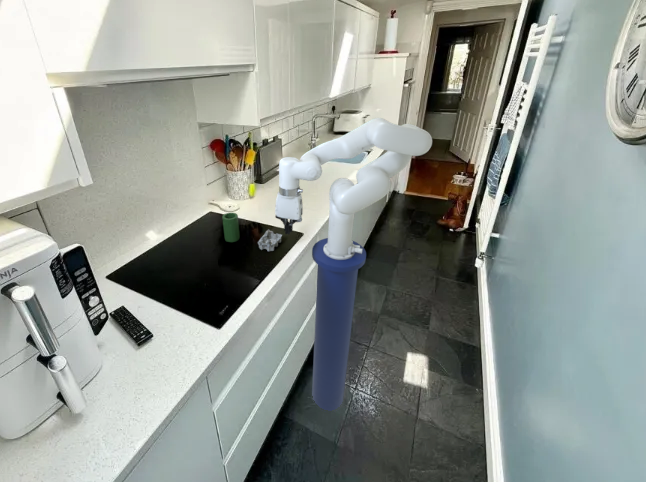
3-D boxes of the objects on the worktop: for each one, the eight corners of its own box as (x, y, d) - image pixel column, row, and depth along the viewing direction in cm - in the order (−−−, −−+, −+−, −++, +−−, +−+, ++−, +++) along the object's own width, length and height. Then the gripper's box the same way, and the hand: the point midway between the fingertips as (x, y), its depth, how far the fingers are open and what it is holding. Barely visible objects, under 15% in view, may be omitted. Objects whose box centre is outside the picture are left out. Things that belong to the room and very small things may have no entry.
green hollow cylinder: (242, 235, 136) (240, 213, 131) (235, 243, 130) (233, 220, 126) (229, 233, 138) (226, 211, 133) (222, 240, 132) (219, 218, 128)
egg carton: (268, 236, 135) (268, 228, 133) (284, 240, 131) (284, 232, 129) (255, 248, 126) (255, 239, 125) (271, 253, 123) (271, 244, 121)
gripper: (310, 189, 116) (308, 231, 124) (273, 184, 121) (274, 225, 129) (305, 197, 110) (303, 240, 118) (266, 191, 114) (267, 233, 123)
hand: (288, 232), depth 123 cm, fingers closed
